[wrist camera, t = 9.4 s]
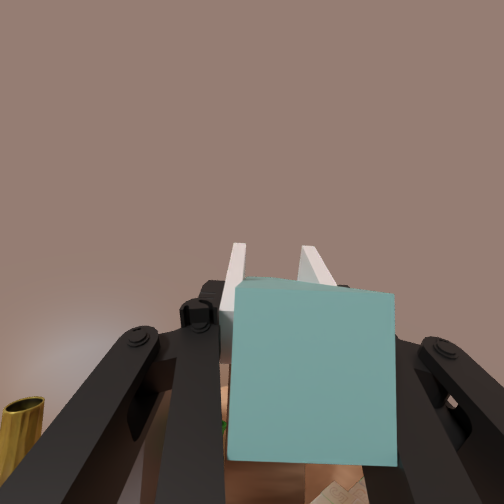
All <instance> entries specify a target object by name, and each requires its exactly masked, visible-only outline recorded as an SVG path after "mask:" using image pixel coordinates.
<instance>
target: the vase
mask: <svg viewBox="0 0 504 504" xmlns="http://www.w3.org/2000/svg"><path fill="white" fill-rule="evenodd" d="M44 401H45V399H44V398H43V397H38V396H34V397H27V398H23V399H19V400H17V401H14V402H12V403H10V404H8V405H7V406H6V407H5V408H4V409H3V413H2V422H1V429H0V487H1V486H2V485H3V483H4V482H5V481H6V480H7V478H8V477H9V476H10V475H11V473H12V472H13V471H14V469H15V468H16V467H17V466H18V464H19V463H20V462H21V461H22V459H23V458H24V457H25V456H26V454H27V453H28V452H29V451H30V449H31V448H32V447H33V446H34V444H35V443H36V442H37V441H38V439H39V438H40V437H41V430H42V421H43V410H44Z"/></svg>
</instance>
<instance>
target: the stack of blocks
mask: <svg viewBox="0 0 504 504" xmlns="http://www.w3.org/2000/svg"><path fill="white" fill-rule="evenodd" d="M309 504H369V500H368V495H367V489H366V484H365V479H364V477H363V478H361V480H360V481H359V482H357V483H356V484H355V485H354V486H353V487H352V488H351V489H350V490H349V491H347V490H345V489H344V488H343V487H342V486H341V485H339V484H338V483H337V482H336V481H333V482H332V483H331V484H330V485H329V486H328V487H326V488H325V489H324V490H323V491H322V492H321V494H320V495H318V496H317V497H316V498H315V499H314V500H313V501H312V502H311V503H309Z"/></svg>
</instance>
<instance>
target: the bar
mask: <svg viewBox="0 0 504 504" xmlns="http://www.w3.org/2000/svg"><path fill="white" fill-rule="evenodd" d="M394 307H395V305H394V294H390V293H383V292H376V291H368V290H361V289H354V288H346V287H339V286H332V285H324V284H316V283H309V282H302V281H294V280H287V279H280V278H271V277H246V278H245V279H244V280H243V281H242V282H241V283H240V284H238V285H237V286H236V287H235V300H234V320H233V341H232V362H231V383H230V404H229V425H228V445H227V460H234V461H261V462H288V463H315V464H341V465H368V466H395V467H397V422H396V364H395V312H394V311H395V308H394Z"/></svg>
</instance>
